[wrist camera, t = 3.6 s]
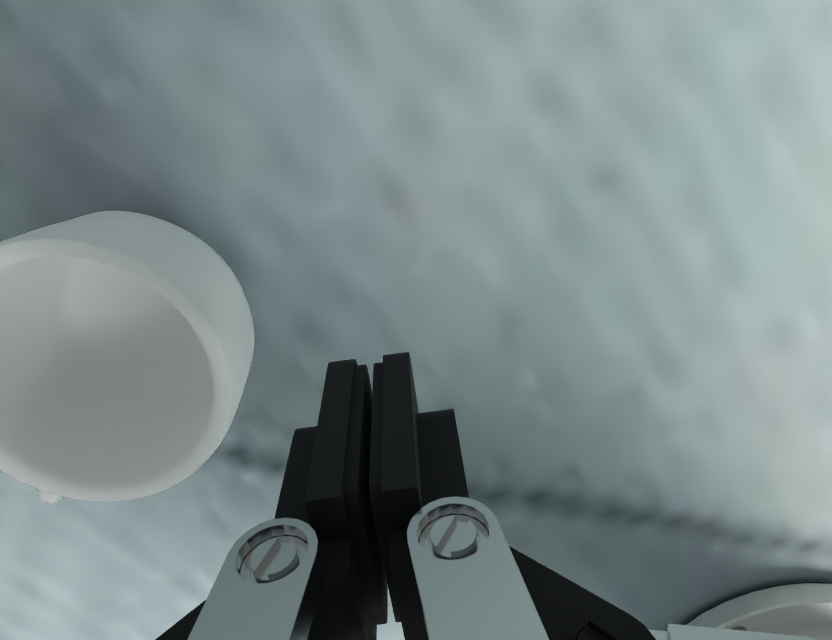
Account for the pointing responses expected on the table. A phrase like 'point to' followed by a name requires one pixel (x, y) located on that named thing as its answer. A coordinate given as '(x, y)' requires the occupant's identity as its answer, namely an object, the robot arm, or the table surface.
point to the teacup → (116, 356)
